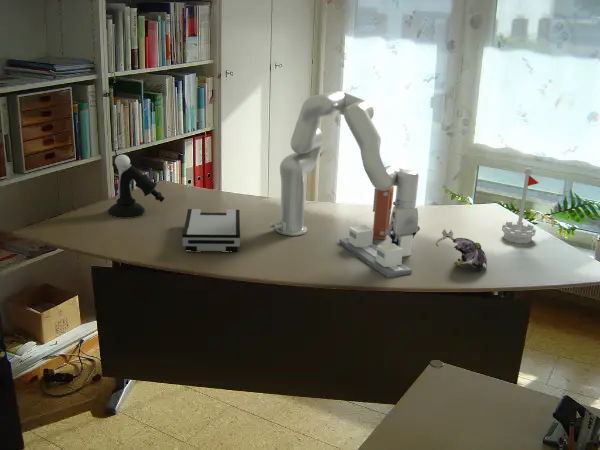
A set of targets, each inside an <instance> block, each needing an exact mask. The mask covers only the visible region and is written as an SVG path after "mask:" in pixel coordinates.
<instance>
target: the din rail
mask: <svg viewBox="0 0 600 450" xmlns="http://www.w3.org/2000/svg"><path fill="white" fill-rule="evenodd" d="M347 239H349V237H347ZM360 248H362V249H363V250H364V251H366V252H367V253H369V254H370V255H372V256H373V257H374V258H376V253H377V251H375V250H374V249H372V248H371V247H369V246H363V247H360ZM389 268H390V269H392V270H393V271H395V272H396V271H402V270H403V269H402V268H400V267H399V266H397V265H396V266H390V267H389Z"/></svg>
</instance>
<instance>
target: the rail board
mask: <svg viewBox="0 0 600 450" xmlns="http://www.w3.org/2000/svg"><path fill="white" fill-rule="evenodd" d="M347 238H348V237H347ZM347 238H339V240H338V241H339V244H340V245H342V246H343V247H345V248H346V249H347V250H349V251H350V252H351V253H353V254H354V255H355V256H357V257H358V258H359V259H361V260H363V261H364V262H365V263H367V265H369V266H371V267H372V268H373V269H375V270H376V271H378V272H379V273H381V274H382V275H383V276H385V277H386V279H387V278H393V277H399V276H403V275H404V276H405V275H409V274H412V273H413V270H412V268H410V267H409V266H407V265H406V264H404V263H403V262H401V265H397V266H399V267H400V268H402V269H403V270H402V271H396V272H395V271H393V270H392V269H390V268H389V267H383V266H382V265H381V264H379V263H378V262H376V258H374V257H373V256H372V255H370V254H369V253H367V252H366V251H364V250H363V249H362V248H360V247H355V246H354V245H352V244H351V243H349V239H347ZM377 246H378V245H376V244H374V243H373V242H372V245H370V246H369V247H371V248H372V249H374V250H375V251H377Z"/></svg>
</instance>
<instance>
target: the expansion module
mask: <svg viewBox="0 0 600 450" xmlns="http://www.w3.org/2000/svg"><path fill="white" fill-rule="evenodd" d="M395 235H396V234H395ZM413 239H414V238H413V235H411V234H402V235H399V237H398V239H397V241H398V246H399V247H400V248H402V249H403V252H402V257H407V256H408V257H409V256H411V255H412V246H413V241H414V240H413Z"/></svg>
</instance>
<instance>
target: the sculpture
mask: <svg viewBox="0 0 600 450" xmlns="http://www.w3.org/2000/svg"><path fill="white" fill-rule="evenodd" d="M114 164H115V167H116V169H117V170H118V189H117V190H118V194H117V195H116V197H115V199H114V201H116V203H114V204H113V205H111V206H110V208H108V210H107V214H108V213H109V214H110V215H112V216H111V217H113V216H116V217H115V218H117V217H133V218H136V217H135V216H138V217H140V216H142V215H144V214H145V213H144V212H146V211H145V209H146V208H145V207H144V206H142V204H140V203H138V202H136V199H135V198H133V196H132V192H131V185H130V183H131V180H133V181H134V182H135V187H137V188H139V189H140V190H141V191H142V192H143V195H144V197H146V196H149V195H153V196H154V199H155V200H156V201H159V202H160V203H162V202H163V201H164V200H165V197H164V196H163V195H162V193H161V191H157V190H156V187H157V184H158V182H155V181H153V180H151V179H150V178H149V176H148V175H147V173H145V174H144V173H142V172H141V171H140V170H139V169H138V168H137V167H136V166H134V165H132V164H131V159H130V158H129V156H128V155H127V154H119V155H117V156H116V157H115V159H114ZM143 213H144V214H143ZM109 214H108V215H109ZM141 214H142V215H141ZM110 215H109V216H110ZM139 215H140V216H139Z"/></svg>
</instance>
